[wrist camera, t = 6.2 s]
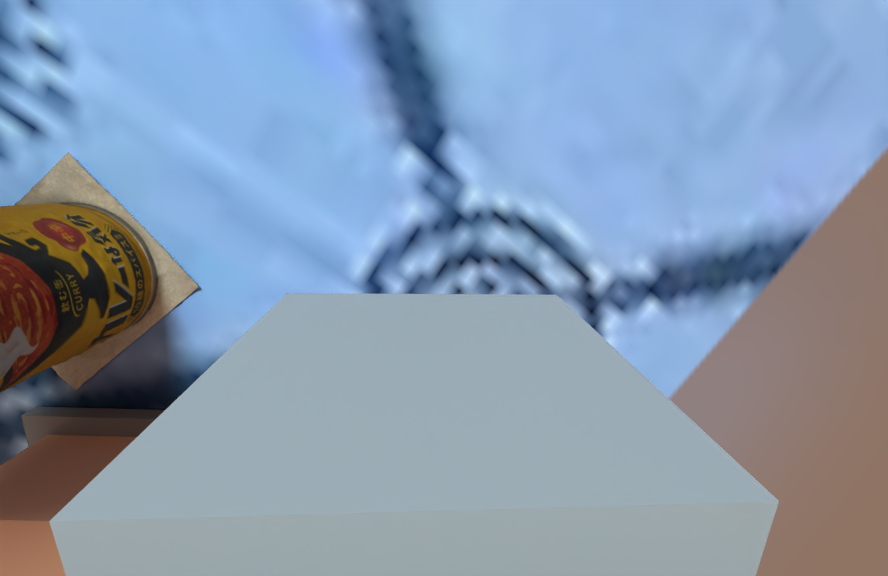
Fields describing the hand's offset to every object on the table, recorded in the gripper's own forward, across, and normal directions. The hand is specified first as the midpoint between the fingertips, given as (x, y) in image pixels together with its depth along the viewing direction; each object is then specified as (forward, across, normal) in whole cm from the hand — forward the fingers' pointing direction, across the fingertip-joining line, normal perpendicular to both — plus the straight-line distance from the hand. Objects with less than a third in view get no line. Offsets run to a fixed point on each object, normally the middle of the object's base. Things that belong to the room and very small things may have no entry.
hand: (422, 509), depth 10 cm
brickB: (+1, 0, 0) cm, 1 cm away
